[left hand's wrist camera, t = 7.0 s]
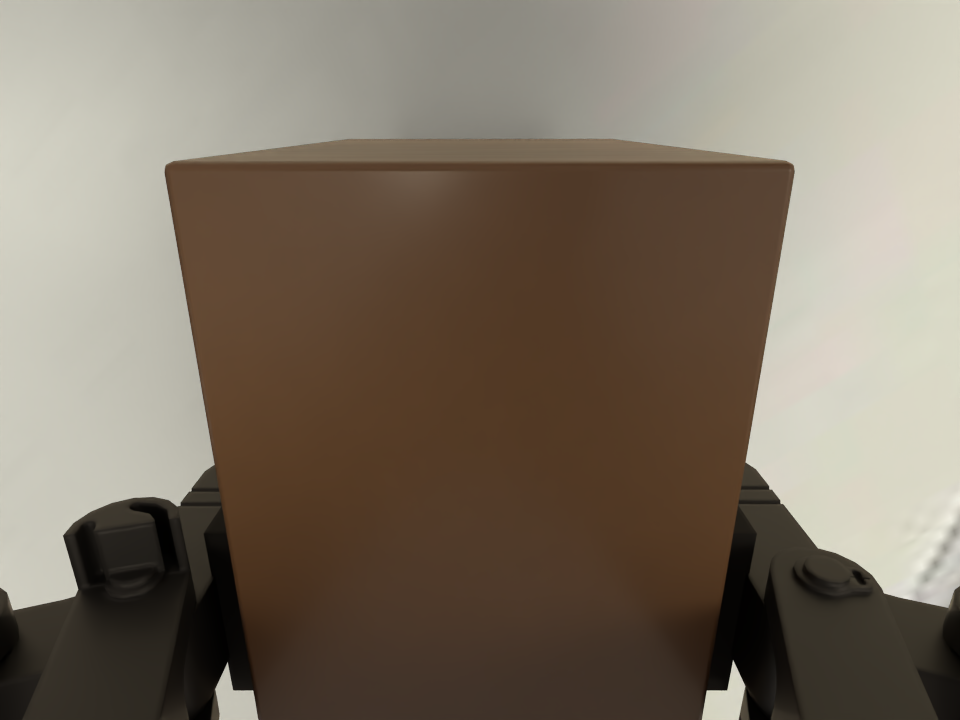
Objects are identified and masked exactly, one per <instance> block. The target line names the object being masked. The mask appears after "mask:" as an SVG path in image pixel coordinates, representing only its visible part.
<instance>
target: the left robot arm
mask: <svg viewBox="0 0 960 720" xmlns="http://www.w3.org/2000/svg"><path fill="white" fill-rule="evenodd" d="M63 537H64V541H65V544H66V548H67V551H68V555H69V558H70V561H71V565H72V568H73V572H74V575H75V579H76V582H77V586H78V592H77V594H76V596H75V597H72V598H68V599H65V600H61V601H56V602H51V603H47V604H42V605H37V606H32V607H28V608H23V609H18V610H14V611H13V609H12V606H11V603H10V600H9V598H8V595H7V592H5V591H4V590H3V589H1V588H0V720H219V708H218V701H217V696H216V691H215V688H216V686H217V684H218V682H219V679H220V677H221V675H222V673H223V671H224V669H225V667H226V664H227V662H228V665H229V670H230V676H231V681H232V686H233V690H253V685H252V679H251V673H250V667H249V661H248V655H247V650H246V644H245V638H244V632H243V626H242V620H241V615H240V609H239V603H238V597H237V591H236V585H235V580H234V574H233V568H232V562H231V556H230V550H229V545H228V539H227V533H226V527H225V521H224V515H223V510H222V504H221V498H220V492H219V486H218V480H217V475H216V469H215V465H214V466H212V467H211V468H209V469H208V470H206V471H205V472H204V473H203V475H202V476H201V477H200V479H199V480H198V481H197V482H196V484H195V485H194V486H193V488H192V492H189V493H188V494H187V495H186V497H185V498H184V499H183V500H182V502H181V506H178V507H177V506H175V505H174V504H173V503H172V502H170V501H169V500H165V499H160V498H155V497H146V498H132V499H128V500H123V501H119V502H115V503H111V504H109V505H106V506H104V507H101V508H99V509H97V510H94V511H92V512H90V513H88V514H87V515H85V516H84V517H82V518H81V519H79V520H78V521H76V522H75V523H73V525H72V526H71V527H70V528H69V529H68V530H67V532H66V533H65V534H64V535H63ZM733 660H734V662H735V665H736V667H737V669H738V671H739V673H740V675H741V677H742V680H743V682H744V684H745V691H744V696H743V701H742V706H741V711H740V716H739V720H960V586H959V587H958V588H957V589H955V591H954V593H953V596H952V599H951V602H950V605H949V608H945V607H941V606H936V605H931V604H927V603H922V602H917V601H912V600H908V599H903V598H898V597H895V596H891V595H887V594H884V593H883V590H882V588H881V587H880V586H879V584H878V583H877V581H876V580H875V579H874V577H873V576H872V575H871V574H870V573H869V572H867V571H866V570H865V569H863V568H862V567H861V566H859V565H858V564H857V563H855V562H853V561H851V560H849V559H847V558H845V557H843V556H840V555H838V554H836V553H833V552H829V551H825V550H822V549H818V548H817V547H816V545H815V544H814V543H813V542H812V540H811V539H810V538H809V537H808V535H807V534H806V533H805V531H804V530H803V529H802V528H801V526H800V525H799V524H798V523H797V521H796V520H795V519H794V517H793V516H792V515H791V514H790V512H789V511H788V510H787V508H786V507H785V506H784V505H783V504H780V500H779V498H778V497H777V496H776V494H775V493H774V492H773V491H772V490H769V486H768V484H767V483H766V482H765V480H764V479H763V478H762V477H761V475H760V474H759V473H758V471H757V470H756V469H755V468H753V467H751V466H750V465H748V464H747V463H745V467H744V473H743V479H742V485H741V491H740V497H739V502H738V508H737V514H736V520H735V526H734V532H733V538H732V544H731V550H730V556H729V561H728V567H727V573H726V579H725V585H724V591H723V597H722V603H721V609H720V614H719V620H718V626H717V632H716V638H715V644H714V650H713V656H712V662H711V667H710V673H709V679H708V685H707V690H727V689H728V683H729V678H730V673H731V668H732V662H733Z"/></svg>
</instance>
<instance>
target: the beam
mask: <svg viewBox="0 0 960 720" xmlns="http://www.w3.org/2000/svg"><path fill="white" fill-rule="evenodd" d="M794 172H795V171H794V165H793V164H791V163H789V162H787V161H782V160H775V159H767V158H759V157H751V156H743V155H735V154H727V153H719V152H711V151H703V150H695V149H687V148H679V147H671V146H663V145H655V144H647V143H639V142H631V141H623V140H615V139H347V140H339V141H331V142H323V143H315V144H307V145H299V146H291V147H283V148H275V149H267V150H259V151H251V152H244V153H236V154H228V155H220V156H212V157H204V158H196V159H188V160H180V161H173V162H171V163H169V164H167V165H166V166H165V177H166V183H167V189H168V195H169V201H170V206H171V212H172V218H173V224H174V230H175V236H176V241H177V247H178V253H179V259H180V265H181V271H182V276H183V282H184V288H185V294H186V300H187V306H188V311H189V317H190V323H191V329H192V335H193V340H194V346H195V352H196V358H197V364H198V370H199V375H200V381H201V387H202V393H203V399H204V405H205V410H206V416H207V422H208V428H209V434H210V440H211V445H212V451H213V457H214V463H215V469H216V475H217V480H218V486H219V492H220V498H221V504H222V510H223V515H224V521H225V527H226V533H227V539H228V545H229V550H230V556H231V562H232V568H233V574H234V580H235V585H236V591H237V597H238V603H239V609H240V615H241V620H242V626H243V632H244V638H245V644H246V650H247V655H248V661H249V667H250V673H251V679H252V685H253V690H254V696H255V702H256V708H257V714H258V719H259V720H702V715H703V709H704V703H705V697H706V691H707V685H708V679H709V673H710V667H711V662H712V656H713V650H714V644H715V638H716V632H717V626H718V620H719V614H720V609H721V603H722V597H723V591H724V585H725V579H726V573H727V567H728V561H729V556H730V550H731V544H732V538H733V532H734V526H735V520H736V514H737V508H738V502H739V497H740V491H741V485H742V479H743V473H744V467H745V461H746V455H747V449H748V444H749V438H750V432H751V426H752V420H753V414H754V408H755V402H756V396H757V390H758V385H759V379H760V373H761V367H762V361H763V355H764V349H765V343H766V337H767V332H768V326H769V320H770V314H771V308H772V302H773V296H774V290H775V284H776V279H777V273H778V267H779V261H780V255H781V249H782V243H783V237H784V231H785V225H786V220H787V214H788V208H789V202H790V196H791V190H792V184H793V178H794Z"/></svg>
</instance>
